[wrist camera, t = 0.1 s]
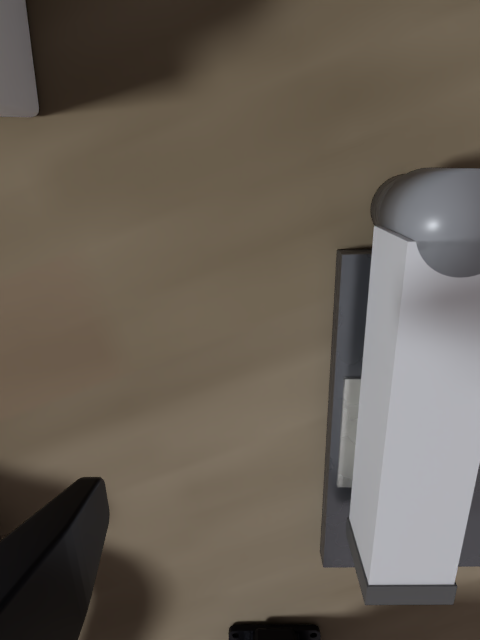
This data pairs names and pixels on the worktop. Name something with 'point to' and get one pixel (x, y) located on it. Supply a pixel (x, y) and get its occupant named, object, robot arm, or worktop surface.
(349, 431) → the label board
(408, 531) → the swing arm
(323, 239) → the worktop surface
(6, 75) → the medicine bottle
